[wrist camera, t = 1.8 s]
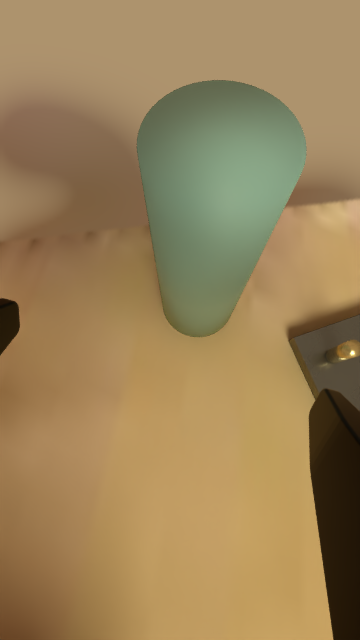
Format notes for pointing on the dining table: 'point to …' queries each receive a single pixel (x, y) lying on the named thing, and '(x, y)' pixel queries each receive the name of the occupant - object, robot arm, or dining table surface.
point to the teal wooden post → (214, 193)
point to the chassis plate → (332, 358)
